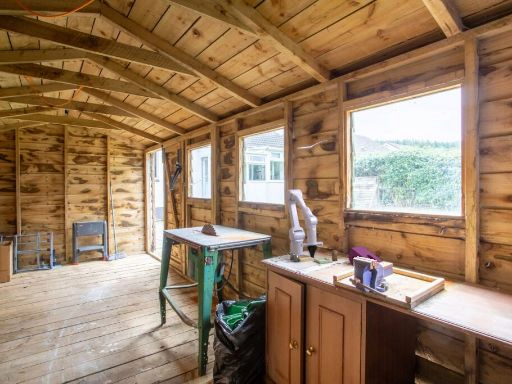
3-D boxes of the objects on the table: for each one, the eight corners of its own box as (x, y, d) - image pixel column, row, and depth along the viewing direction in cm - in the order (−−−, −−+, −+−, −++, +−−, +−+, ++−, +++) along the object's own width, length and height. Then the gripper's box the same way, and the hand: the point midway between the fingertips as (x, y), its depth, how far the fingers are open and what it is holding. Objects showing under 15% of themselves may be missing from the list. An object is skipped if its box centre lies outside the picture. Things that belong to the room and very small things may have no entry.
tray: (314, 260, 180) (313, 258, 180) (325, 259, 183) (325, 257, 183) (320, 264, 173) (320, 261, 173) (332, 262, 175) (332, 260, 175)
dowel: (331, 260, 181) (330, 250, 181) (335, 259, 182) (335, 250, 182) (333, 261, 178) (333, 251, 178) (338, 260, 179) (338, 251, 179)
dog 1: (289, 259, 185) (289, 253, 185) (294, 259, 186) (294, 252, 186) (291, 260, 182) (291, 254, 182) (296, 260, 183) (295, 253, 183)
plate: (295, 260, 186) (294, 256, 186) (306, 258, 188) (306, 255, 188) (300, 263, 178) (300, 259, 178) (312, 261, 180) (312, 257, 180)
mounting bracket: (381, 276, 165) (357, 257, 179) (386, 264, 162) (362, 245, 176) (370, 279, 160) (346, 259, 174) (376, 267, 157) (351, 247, 171)
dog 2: (292, 261, 180) (292, 254, 180) (297, 261, 181) (297, 254, 181) (294, 262, 177) (294, 256, 177) (299, 262, 178) (299, 255, 178)
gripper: (303, 237, 179) (304, 259, 179) (325, 236, 183) (325, 257, 183) (299, 236, 186) (299, 257, 186) (319, 234, 190) (320, 255, 190)
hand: (312, 257), depth 185 cm, fingers closed
